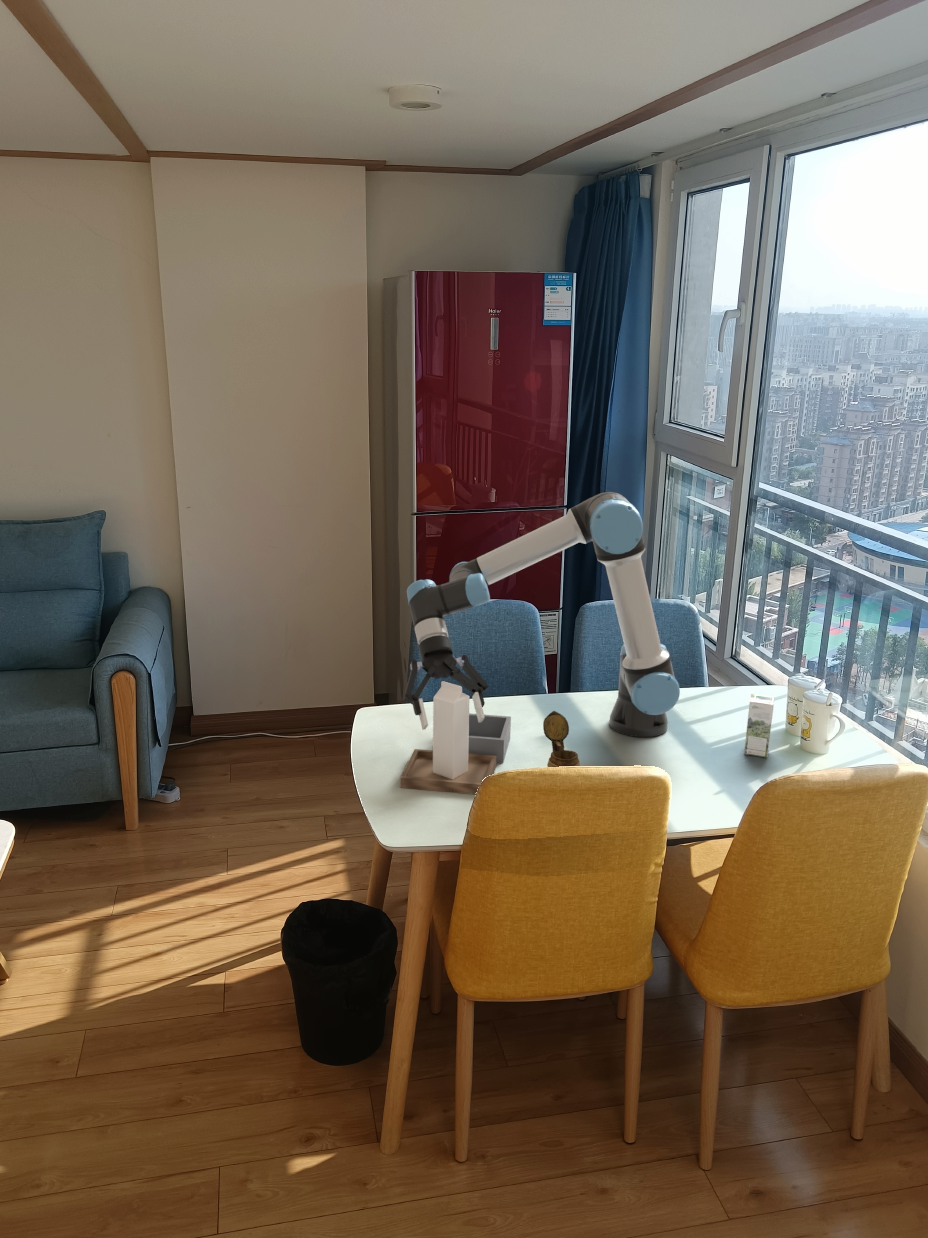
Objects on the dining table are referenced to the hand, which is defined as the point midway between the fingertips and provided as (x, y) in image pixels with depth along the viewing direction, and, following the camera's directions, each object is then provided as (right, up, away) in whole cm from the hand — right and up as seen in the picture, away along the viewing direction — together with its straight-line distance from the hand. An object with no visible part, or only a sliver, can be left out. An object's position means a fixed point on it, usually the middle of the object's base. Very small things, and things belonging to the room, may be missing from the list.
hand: (453, 723), depth 222 cm
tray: (-1, -13, +6) cm, 14 cm away
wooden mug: (+24, -16, -2) cm, 29 cm away
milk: (-1, -12, +6) cm, 14 cm away
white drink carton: (+75, -10, +22) cm, 79 cm away
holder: (+6, -8, +22) cm, 24 cm away
